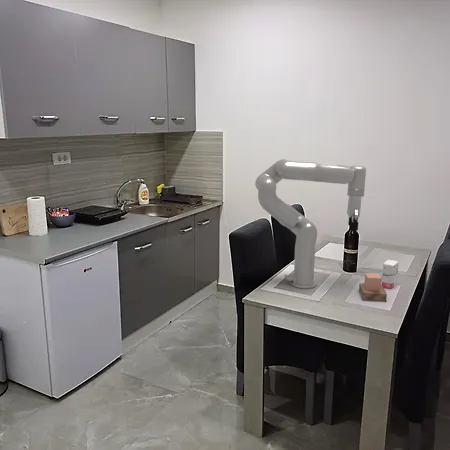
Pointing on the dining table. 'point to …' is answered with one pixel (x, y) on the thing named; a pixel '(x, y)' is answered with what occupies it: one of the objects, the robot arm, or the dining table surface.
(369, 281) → the clay cube
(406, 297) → the dining table surface
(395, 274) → the ink box
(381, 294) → the walnut block
